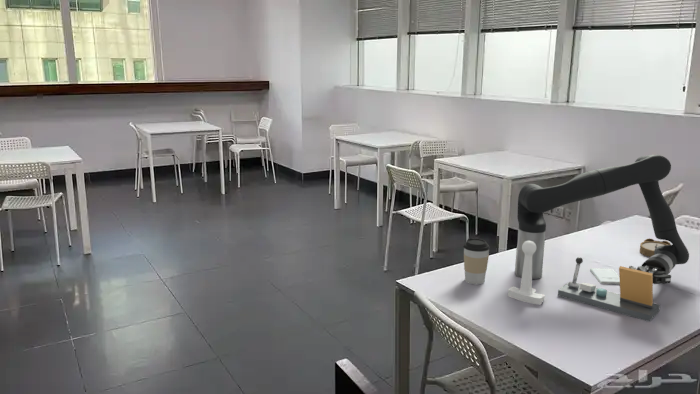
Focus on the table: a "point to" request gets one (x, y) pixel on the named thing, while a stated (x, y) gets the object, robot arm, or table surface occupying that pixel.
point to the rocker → (587, 287)
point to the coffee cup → (475, 260)
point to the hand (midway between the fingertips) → (640, 282)
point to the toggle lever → (576, 274)
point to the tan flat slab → (636, 287)
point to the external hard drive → (606, 276)
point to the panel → (609, 302)
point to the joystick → (527, 279)
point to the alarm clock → (651, 246)
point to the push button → (601, 292)
